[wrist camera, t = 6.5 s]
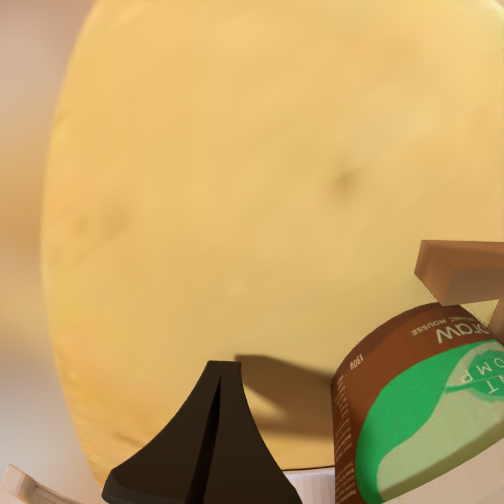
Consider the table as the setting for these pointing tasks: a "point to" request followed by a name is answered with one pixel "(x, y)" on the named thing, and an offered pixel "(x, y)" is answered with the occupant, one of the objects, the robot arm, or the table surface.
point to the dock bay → (465, 275)
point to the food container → (421, 412)
